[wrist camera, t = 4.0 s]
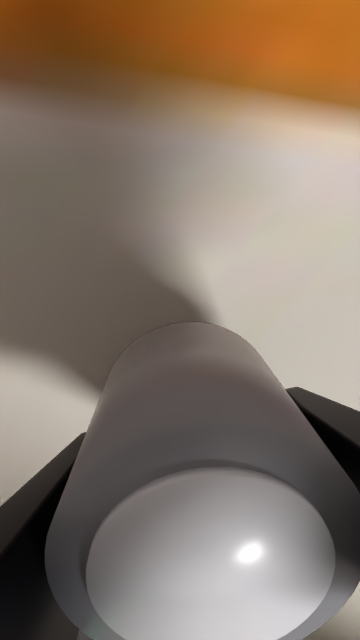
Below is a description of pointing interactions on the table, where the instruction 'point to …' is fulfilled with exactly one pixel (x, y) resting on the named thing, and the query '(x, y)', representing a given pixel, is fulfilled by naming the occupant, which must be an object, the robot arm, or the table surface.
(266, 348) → the table surface
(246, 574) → the cap
